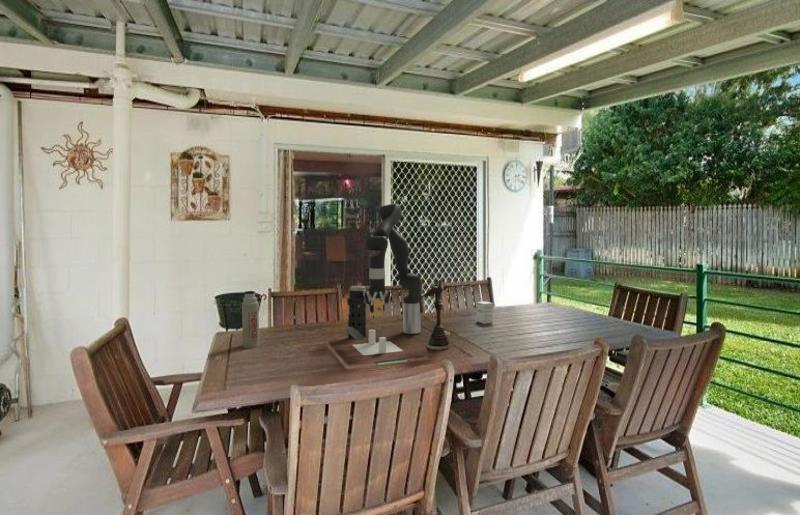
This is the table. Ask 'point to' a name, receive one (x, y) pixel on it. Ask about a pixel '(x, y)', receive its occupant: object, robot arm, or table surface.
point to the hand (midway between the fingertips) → (377, 312)
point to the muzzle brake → (357, 310)
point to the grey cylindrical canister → (484, 312)
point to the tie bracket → (376, 345)
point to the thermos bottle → (250, 320)
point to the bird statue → (438, 335)
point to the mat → (391, 362)
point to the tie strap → (354, 333)
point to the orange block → (377, 308)
